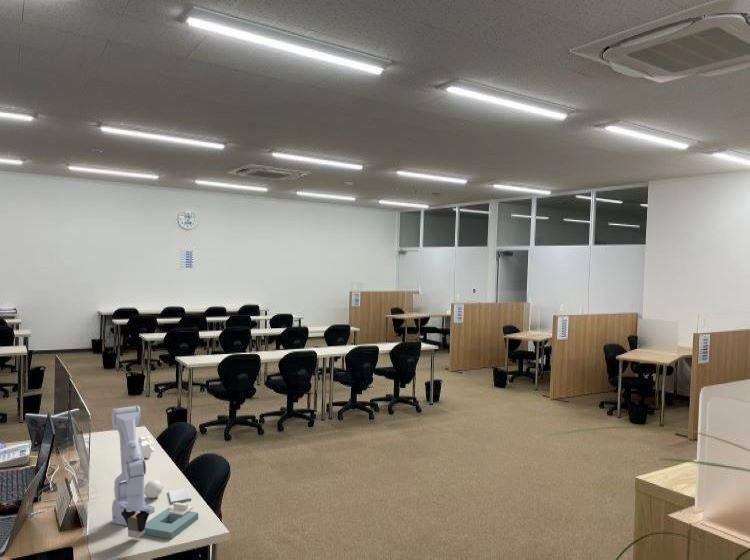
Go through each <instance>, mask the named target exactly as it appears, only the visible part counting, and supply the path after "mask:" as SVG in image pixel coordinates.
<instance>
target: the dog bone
mask: <svg viewBox="0 0 750 560" xmlns="http://www.w3.org/2000/svg"><path fill="white" fill-rule="evenodd" d="M137 442H139V443H140V446H141V452H142V456H143V457H144V459H146V458H147V459H150V458H151V455H152V453H154V452H155V448H154V447H152V446H153V445H154V442H153V440H151V437H150V435H146V436H142V435H141V436H139V437H138V439H137Z"/></svg>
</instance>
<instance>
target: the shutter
mask: <svg viewBox="0 0 750 560" xmlns="http://www.w3.org/2000/svg"><path fill="white" fill-rule="evenodd" d="M193 508H194V506H192V505H189V503H184V502H181V503H177V502H176V503H174V504H173V508H172V510H170V511H169V514H175V515H181V516H183V515H185V514H186V513H187V512H189V511H192V510H194V509H193Z"/></svg>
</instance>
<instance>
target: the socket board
mask: <svg viewBox="0 0 750 560" xmlns="http://www.w3.org/2000/svg"><path fill="white" fill-rule="evenodd" d="M172 509H173V508H171V507H167V508H166V509H164V510H163V511H161V512H160V513H158V514H157V515H155V516H154V517H152V518H151V519H150V520H147V521H146V525H145V533H144V534H143V535H147V536H153V537H157V538H163V539H169V540H173V539H174V538H176V537H177V536H178V535H179V534H181V533H182V532H184V531H185V530H186V529H187V528H189V527H190V526H192V524H194V523H195V522H196V521H198V520H199V512H196V511H192V510H190V511H189V512H187V513H186V514H185V515H183V516H181V515H175V514H169V511H170V510H172ZM169 522H170V523H169Z"/></svg>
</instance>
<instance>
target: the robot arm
mask: <svg viewBox="0 0 750 560" xmlns="http://www.w3.org/2000/svg"><path fill="white" fill-rule="evenodd" d="M140 420H141V407H140V406H139V405H134V406H133V405H132V406H126V407H119V408H112V410H111V424H112V430H114V431H117V433H118V435H119V449H120V450H119V451H120V464H121V466H120V467H121V473H120V474H119V475H118V476H117V477H116V478H115V480H114V488H113V491H114V492H113V493H114V499H113V501H112V505H111V517H112V520H110V523H111V524H115V525H116V524H117V525H121V526H127V527H128V518H130V517H131V516H133V515H135V514H137V515H136V518H137V521H138V530H139V532H142V531H143V530H144V529H145V525H146V522H148V519H149V516H150V515H152V514H154V513H155V506H152V505H150V504H148V503H147V502H145V501H146V500H145V493H144V488H145V475H146V474H147V473H146V472H147V465H146V461H145V458H144V457H143V456H142V452H141V446H140V443H139V442H138V440H137V431H136V429H137V428H136V427H138V425H139V423H140Z"/></svg>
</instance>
